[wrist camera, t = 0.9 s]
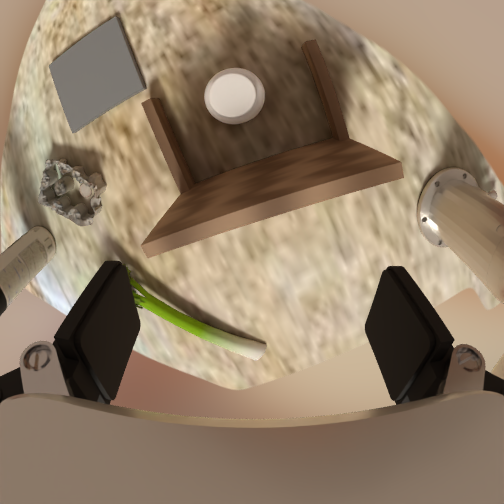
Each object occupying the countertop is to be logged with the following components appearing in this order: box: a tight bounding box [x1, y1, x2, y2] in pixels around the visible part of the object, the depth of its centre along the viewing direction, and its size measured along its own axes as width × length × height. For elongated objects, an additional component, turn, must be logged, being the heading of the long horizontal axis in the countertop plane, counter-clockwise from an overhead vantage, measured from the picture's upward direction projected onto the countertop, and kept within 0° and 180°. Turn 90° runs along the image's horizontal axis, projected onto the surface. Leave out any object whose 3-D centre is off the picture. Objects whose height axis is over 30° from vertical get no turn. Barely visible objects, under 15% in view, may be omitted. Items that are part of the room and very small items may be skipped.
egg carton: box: [38, 158, 107, 226], centre depth 34 cm, size 11×8×4 cm
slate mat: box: [49, 16, 146, 133], centre depth 27 cm, size 12×12×1 cm
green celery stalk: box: [123, 264, 267, 360], centre depth 44 cm, size 6×7×30 cm
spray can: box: [0, 226, 56, 316], centre depth 31 cm, size 7×7×20 cm
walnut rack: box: [141, 40, 404, 258], centre depth 24 cm, size 20×13×16 cm, turn 110°
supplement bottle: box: [204, 68, 265, 124], centre depth 25 cm, size 6×6×10 cm
